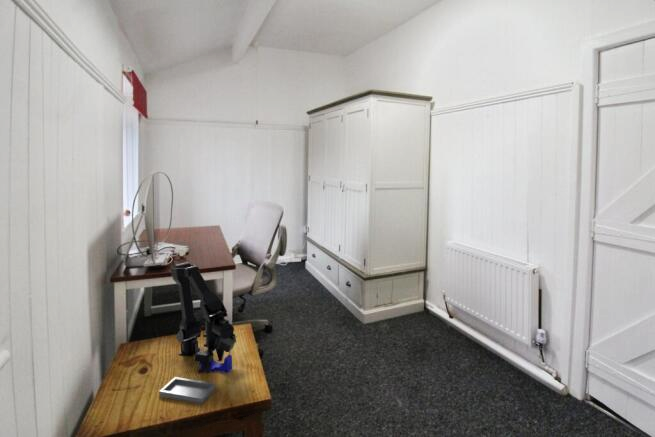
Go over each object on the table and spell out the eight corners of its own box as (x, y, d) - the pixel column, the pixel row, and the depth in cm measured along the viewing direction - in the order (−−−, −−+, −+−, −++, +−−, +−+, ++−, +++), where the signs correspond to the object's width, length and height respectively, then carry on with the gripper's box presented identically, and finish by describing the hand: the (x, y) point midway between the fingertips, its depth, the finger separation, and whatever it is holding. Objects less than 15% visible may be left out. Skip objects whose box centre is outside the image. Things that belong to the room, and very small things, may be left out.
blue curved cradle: (200, 369, 147) (199, 355, 146) (207, 363, 152) (206, 350, 151) (225, 375, 144) (225, 361, 143) (232, 369, 148) (231, 355, 147)
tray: (159, 396, 130) (159, 391, 130) (175, 381, 139) (174, 376, 139) (202, 404, 127) (202, 398, 126) (215, 388, 135) (215, 383, 135)
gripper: (219, 344, 133) (221, 383, 136) (242, 322, 151) (243, 357, 154) (192, 340, 136) (194, 379, 138) (218, 319, 154) (219, 353, 156)
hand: (214, 366), depth 147 cm, fingers open, 9 cm apart
